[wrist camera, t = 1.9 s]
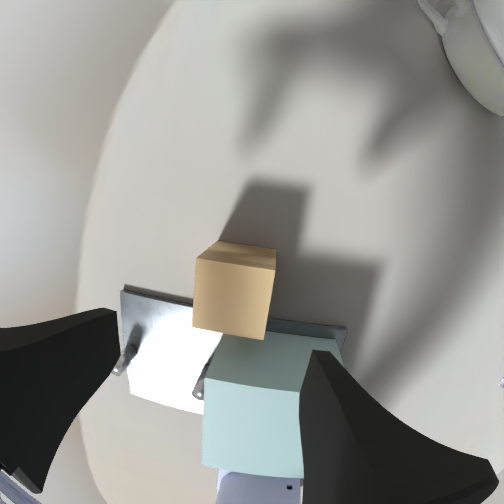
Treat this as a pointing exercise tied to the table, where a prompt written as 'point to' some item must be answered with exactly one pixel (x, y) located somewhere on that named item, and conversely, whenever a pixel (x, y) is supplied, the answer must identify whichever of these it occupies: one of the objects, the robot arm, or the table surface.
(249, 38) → the table surface
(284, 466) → the cover
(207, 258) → the oak block
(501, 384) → the water lily
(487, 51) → the teacup
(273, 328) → the base plate
